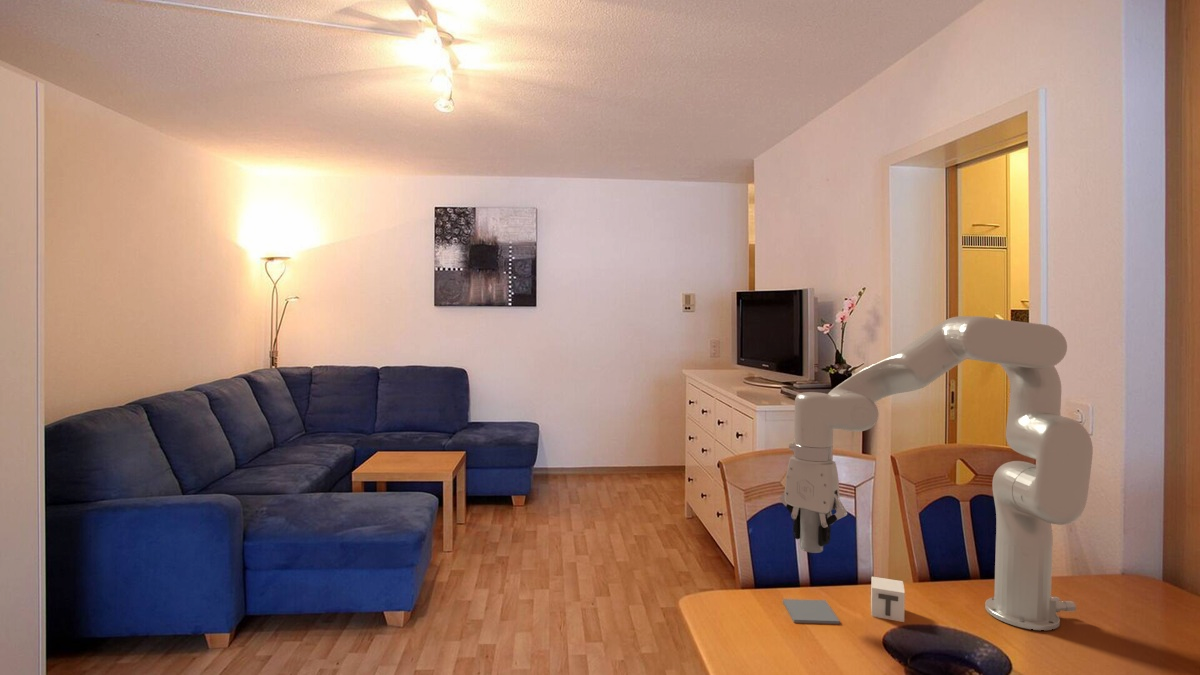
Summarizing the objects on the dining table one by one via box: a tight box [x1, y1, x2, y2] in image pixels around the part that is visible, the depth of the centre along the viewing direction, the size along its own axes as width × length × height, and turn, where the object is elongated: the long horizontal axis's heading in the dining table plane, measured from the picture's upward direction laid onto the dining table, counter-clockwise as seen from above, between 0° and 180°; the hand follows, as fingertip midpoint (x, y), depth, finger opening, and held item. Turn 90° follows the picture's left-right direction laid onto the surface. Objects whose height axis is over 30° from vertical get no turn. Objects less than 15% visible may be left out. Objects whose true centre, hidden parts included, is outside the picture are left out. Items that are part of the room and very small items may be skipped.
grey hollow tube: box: [799, 508, 824, 554], centre depth 126 cm, size 4×4×10 cm
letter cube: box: [870, 576, 906, 623], centre depth 127 cm, size 6×6×6 cm
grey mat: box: [782, 598, 841, 625], centre depth 127 cm, size 9×9×1 cm
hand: (811, 540), depth 127 cm, fingers closed on grey hollow tube, 4 cm apart
